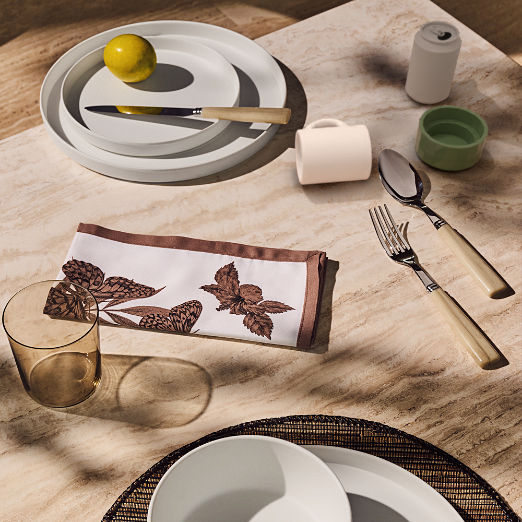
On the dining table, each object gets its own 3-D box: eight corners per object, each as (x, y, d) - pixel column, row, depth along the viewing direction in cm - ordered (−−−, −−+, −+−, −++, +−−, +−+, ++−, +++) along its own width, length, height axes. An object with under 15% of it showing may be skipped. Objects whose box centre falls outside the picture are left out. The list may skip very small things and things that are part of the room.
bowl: (468, 128, 110) (475, 102, 106) (489, 170, 103) (497, 144, 100) (406, 133, 109) (411, 107, 105) (423, 176, 103) (429, 150, 99)
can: (432, 112, 113) (447, 48, 104) (395, 94, 116) (406, 31, 107) (457, 92, 116) (473, 28, 107) (420, 75, 120) (432, 12, 110)
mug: (368, 190, 101) (374, 148, 95) (301, 195, 100) (303, 154, 94) (352, 138, 109) (357, 97, 103) (290, 143, 108) (292, 101, 102)
